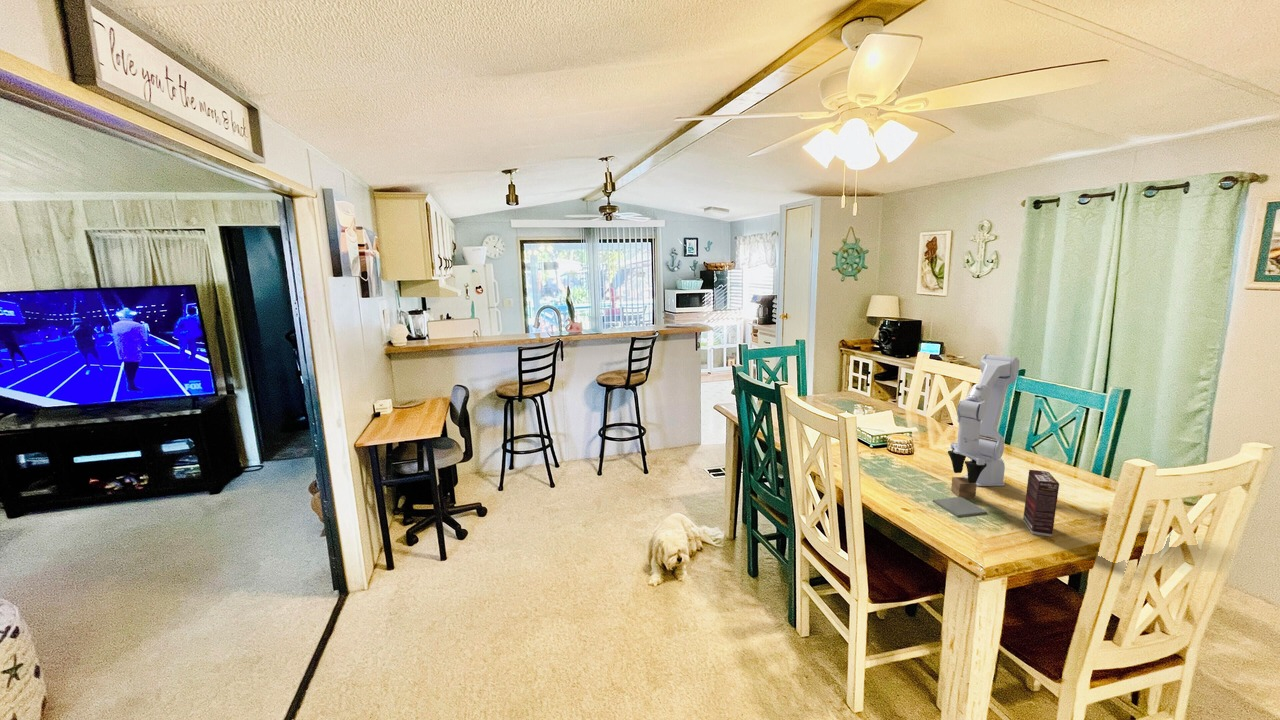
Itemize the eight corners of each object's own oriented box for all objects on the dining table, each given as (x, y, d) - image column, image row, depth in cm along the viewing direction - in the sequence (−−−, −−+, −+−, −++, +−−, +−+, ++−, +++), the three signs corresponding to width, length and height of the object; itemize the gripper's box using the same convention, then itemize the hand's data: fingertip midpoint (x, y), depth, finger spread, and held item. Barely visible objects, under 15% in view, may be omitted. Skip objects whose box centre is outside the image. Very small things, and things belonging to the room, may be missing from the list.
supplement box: (1053, 537, 135) (1060, 483, 132) (1031, 534, 137) (1038, 481, 134) (1042, 522, 143) (1049, 471, 140) (1022, 519, 145) (1028, 468, 142)
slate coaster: (961, 498, 159) (961, 496, 159) (986, 513, 149) (987, 511, 149) (932, 501, 157) (933, 499, 157) (957, 516, 148) (957, 514, 148)
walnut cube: (967, 491, 163) (968, 477, 163) (975, 498, 159) (976, 484, 158) (951, 491, 164) (952, 477, 163) (958, 498, 159) (959, 483, 158)
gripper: (942, 430, 164) (939, 468, 167) (969, 445, 150) (965, 487, 153) (964, 429, 164) (960, 468, 167) (993, 445, 150) (989, 487, 152)
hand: (964, 477), depth 160 cm, fingers open, 7 cm apart
